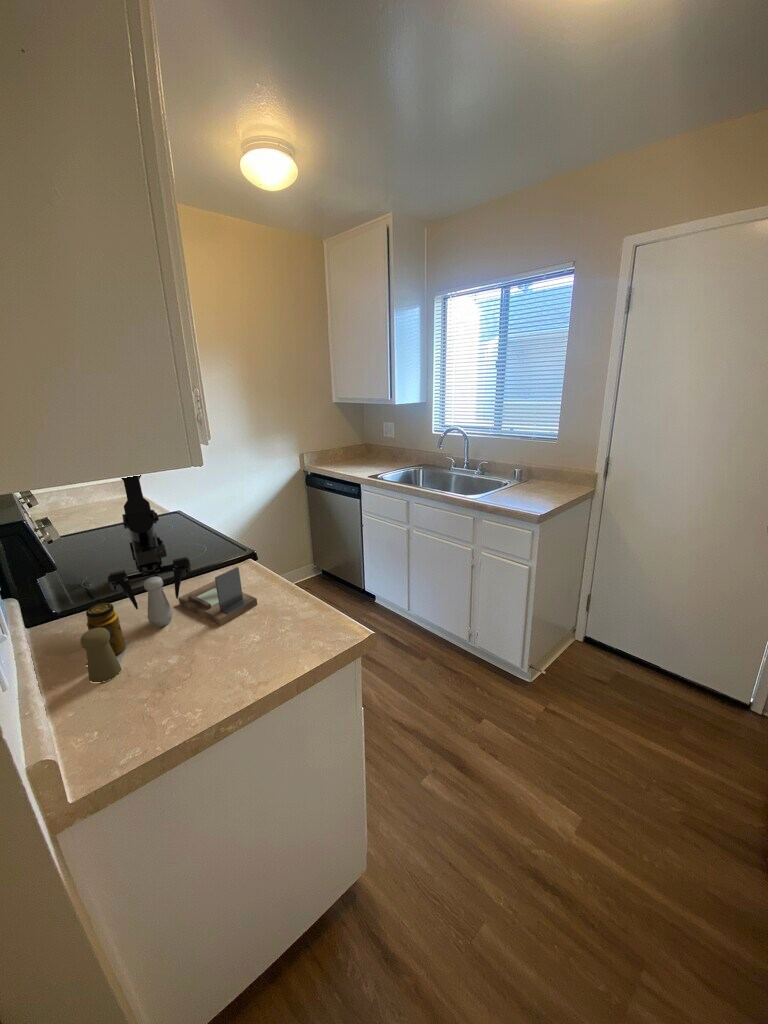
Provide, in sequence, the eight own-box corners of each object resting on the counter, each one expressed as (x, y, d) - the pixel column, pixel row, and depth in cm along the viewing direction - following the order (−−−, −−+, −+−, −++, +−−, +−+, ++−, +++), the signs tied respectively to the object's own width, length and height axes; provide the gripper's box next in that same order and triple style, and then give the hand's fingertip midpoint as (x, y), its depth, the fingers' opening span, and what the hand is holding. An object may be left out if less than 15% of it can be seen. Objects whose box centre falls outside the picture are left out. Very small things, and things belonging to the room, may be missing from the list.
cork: (86, 673, 91) (73, 631, 87) (117, 660, 95) (106, 620, 91) (92, 688, 87) (79, 644, 83) (124, 673, 91) (113, 631, 87)
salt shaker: (163, 630, 106) (153, 585, 101) (144, 628, 107) (133, 583, 102) (178, 617, 111) (170, 574, 107) (160, 615, 112) (150, 572, 108)
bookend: (220, 610, 110) (214, 577, 107) (241, 598, 116) (237, 567, 113) (228, 614, 109) (222, 580, 105) (249, 602, 114) (245, 570, 111)
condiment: (131, 640, 102) (121, 598, 98) (120, 663, 94) (108, 618, 90) (98, 645, 100) (86, 602, 96) (84, 668, 92) (70, 623, 88)
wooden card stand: (179, 603, 117) (177, 593, 116) (216, 586, 127) (214, 576, 126) (220, 625, 107) (219, 614, 106) (257, 604, 117) (256, 594, 116)
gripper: (99, 544, 100) (109, 605, 94) (183, 529, 109) (196, 583, 104) (107, 561, 108) (116, 617, 103) (184, 546, 118) (196, 596, 113)
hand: (157, 603), depth 105 cm, fingers open, 9 cm apart
